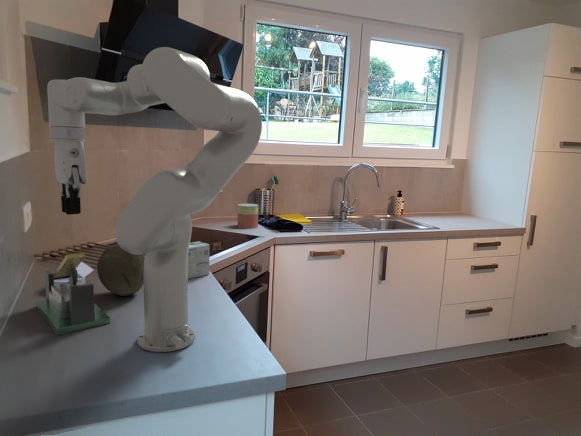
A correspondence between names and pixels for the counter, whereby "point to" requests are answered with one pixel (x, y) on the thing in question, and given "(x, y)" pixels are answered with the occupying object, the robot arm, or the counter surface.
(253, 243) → the counter surface
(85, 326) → the cooling block
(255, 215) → the canned food
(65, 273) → the retention strap
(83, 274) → the wedge on round base
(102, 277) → the cantaloupe
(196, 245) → the light bulb box
